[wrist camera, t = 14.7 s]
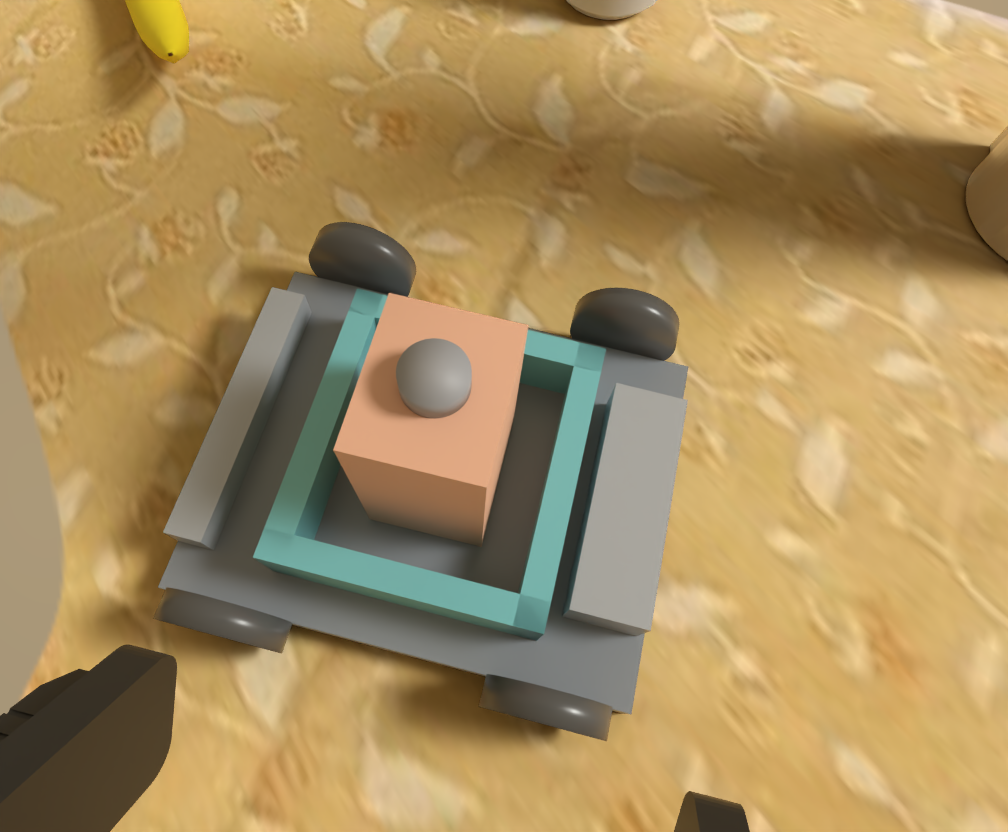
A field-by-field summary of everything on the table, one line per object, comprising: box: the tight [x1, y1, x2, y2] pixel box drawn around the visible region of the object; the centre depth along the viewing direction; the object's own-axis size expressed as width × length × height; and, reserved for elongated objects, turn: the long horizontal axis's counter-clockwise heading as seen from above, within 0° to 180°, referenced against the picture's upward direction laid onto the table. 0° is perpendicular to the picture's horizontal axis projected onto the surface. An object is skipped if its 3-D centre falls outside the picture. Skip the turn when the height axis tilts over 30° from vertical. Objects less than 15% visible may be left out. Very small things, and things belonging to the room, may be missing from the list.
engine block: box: [333, 293, 529, 547], centre depth 27 cm, size 6×5×10 cm
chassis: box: [153, 222, 688, 741], centre depth 31 cm, size 18×20×5 cm
